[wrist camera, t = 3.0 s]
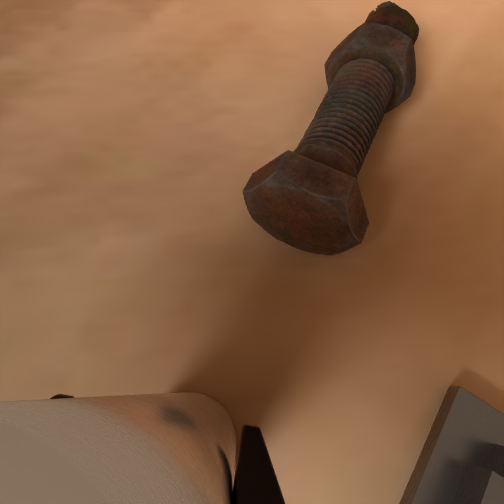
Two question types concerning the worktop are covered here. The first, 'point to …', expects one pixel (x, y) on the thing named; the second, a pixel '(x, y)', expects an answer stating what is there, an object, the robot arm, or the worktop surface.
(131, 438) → the shiny tapered metal piece
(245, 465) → the robot arm
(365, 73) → the bolt
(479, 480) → the block
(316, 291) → the worktop surface
